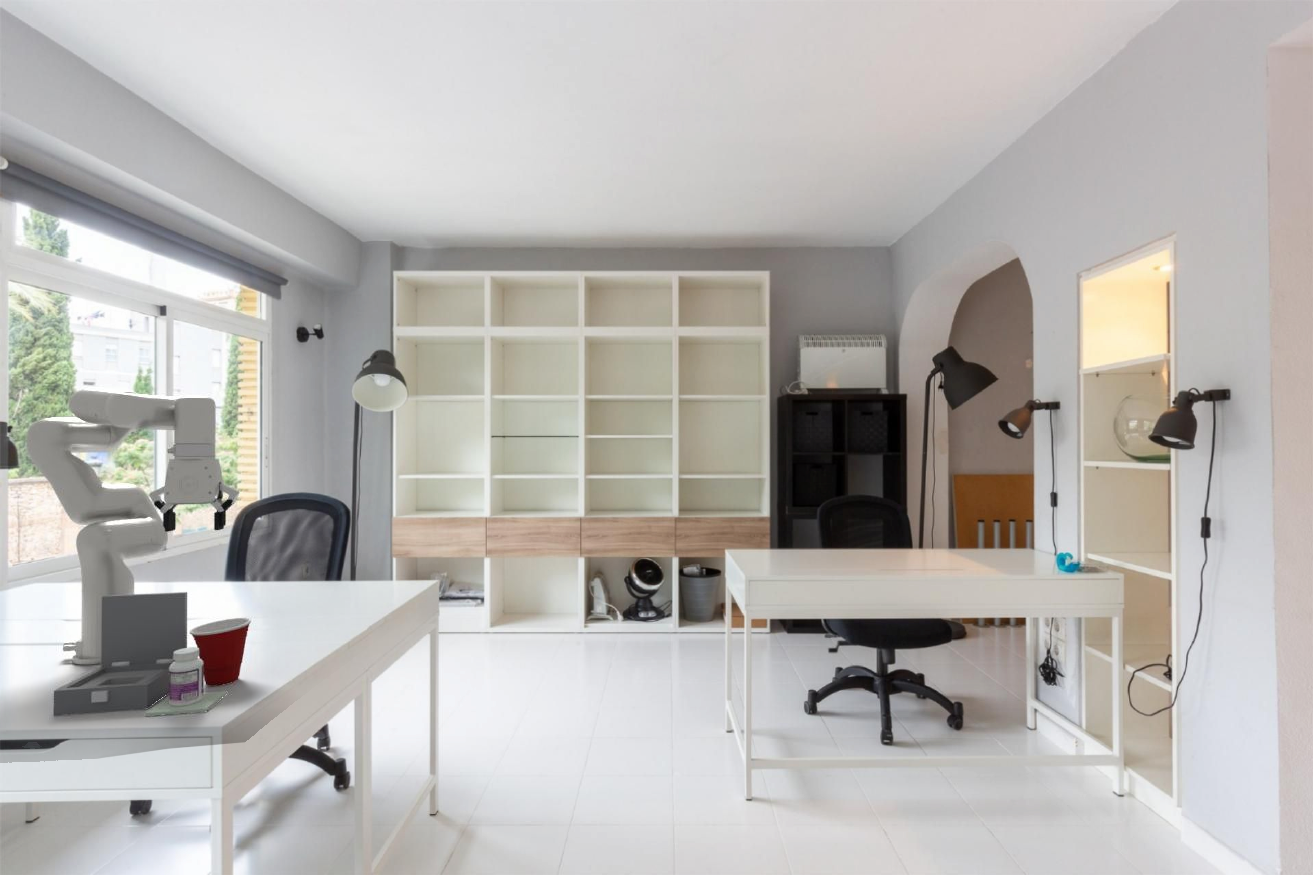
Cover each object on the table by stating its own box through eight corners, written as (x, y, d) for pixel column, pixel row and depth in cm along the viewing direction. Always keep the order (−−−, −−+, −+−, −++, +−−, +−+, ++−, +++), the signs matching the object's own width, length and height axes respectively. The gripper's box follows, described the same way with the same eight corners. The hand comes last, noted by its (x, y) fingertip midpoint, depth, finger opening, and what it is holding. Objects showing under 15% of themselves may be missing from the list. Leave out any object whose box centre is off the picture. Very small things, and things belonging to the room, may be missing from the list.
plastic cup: (197, 676, 142) (197, 619, 143) (256, 670, 146) (256, 614, 146) (182, 694, 132) (182, 632, 132) (245, 686, 136) (245, 627, 136)
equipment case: (51, 717, 121) (52, 613, 121) (104, 687, 136) (104, 595, 137) (145, 710, 124) (145, 609, 124) (186, 681, 139) (187, 591, 140)
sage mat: (144, 716, 121) (144, 713, 121) (170, 698, 130) (170, 695, 130) (206, 712, 123) (206, 708, 123) (227, 694, 132) (227, 691, 132)
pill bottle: (179, 697, 129) (180, 646, 129) (209, 695, 129) (209, 645, 130) (162, 707, 123) (162, 655, 124) (193, 706, 124) (193, 653, 124)
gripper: (141, 452, 143) (140, 533, 143) (231, 452, 147) (230, 531, 146) (160, 452, 151) (159, 529, 150) (245, 452, 154) (244, 527, 154)
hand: (194, 530), depth 148 cm, fingers open, 9 cm apart
